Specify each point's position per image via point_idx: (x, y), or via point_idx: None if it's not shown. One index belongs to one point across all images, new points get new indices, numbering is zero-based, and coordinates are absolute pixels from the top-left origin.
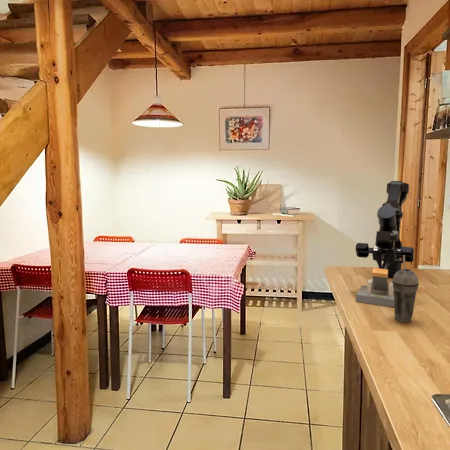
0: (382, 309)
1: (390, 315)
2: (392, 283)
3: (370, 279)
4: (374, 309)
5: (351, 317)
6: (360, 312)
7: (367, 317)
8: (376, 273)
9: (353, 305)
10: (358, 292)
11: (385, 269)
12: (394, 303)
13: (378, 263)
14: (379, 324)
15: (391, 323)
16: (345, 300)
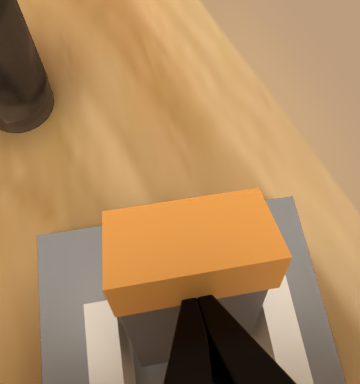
0: (128, 175)
1: (78, 121)
2: (95, 356)
3: (299, 366)
4: (161, 154)
5: (208, 24)
6: (200, 87)
7: (156, 53)
8: (215, 198)
9: (261, 150)
10: (300, 242)
11: (135, 277)
12: (29, 32)
13: (284, 375)
14: (96, 15)
15: (57, 45)
16: (325, 196)
